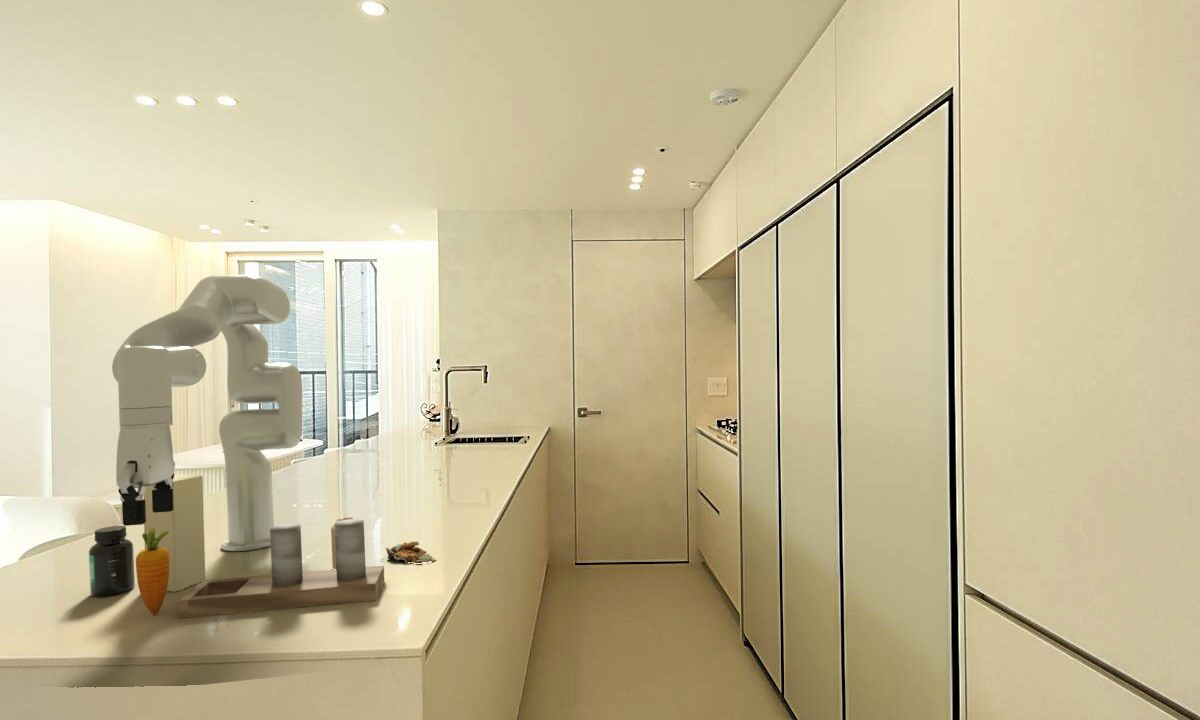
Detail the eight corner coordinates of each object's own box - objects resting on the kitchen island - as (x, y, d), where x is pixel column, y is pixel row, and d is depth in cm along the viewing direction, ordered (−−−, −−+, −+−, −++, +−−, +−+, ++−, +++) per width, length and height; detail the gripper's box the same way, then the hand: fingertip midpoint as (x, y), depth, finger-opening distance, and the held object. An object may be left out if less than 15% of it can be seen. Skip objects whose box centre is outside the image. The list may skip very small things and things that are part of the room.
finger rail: (203, 596, 122) (200, 526, 122) (384, 581, 127) (381, 513, 127) (178, 618, 112) (175, 542, 112) (375, 600, 117) (373, 527, 117)
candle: (351, 572, 133) (349, 522, 133) (326, 571, 134) (325, 522, 134) (366, 563, 139) (364, 515, 138) (342, 562, 140) (340, 515, 140)
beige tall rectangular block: (210, 579, 131) (206, 474, 131) (175, 592, 124) (171, 481, 124) (180, 576, 134) (176, 472, 134) (145, 588, 127) (140, 480, 127)
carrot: (148, 609, 116) (144, 524, 116) (178, 607, 117) (174, 523, 116) (130, 621, 111) (127, 532, 111) (161, 619, 112) (158, 531, 111)
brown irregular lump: (425, 568, 136) (424, 551, 136) (377, 563, 140) (377, 546, 140) (444, 557, 142) (444, 541, 142) (398, 553, 146) (398, 537, 146)
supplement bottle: (86, 600, 122) (83, 535, 122) (94, 589, 128) (92, 527, 128) (131, 593, 125) (129, 530, 125) (137, 582, 131) (135, 522, 131)
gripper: (147, 415, 121) (150, 508, 121) (92, 423, 104) (95, 532, 104) (192, 413, 122) (195, 505, 122) (144, 421, 105) (148, 528, 105)
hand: (149, 517), depth 113 cm, fingers open, 9 cm apart
